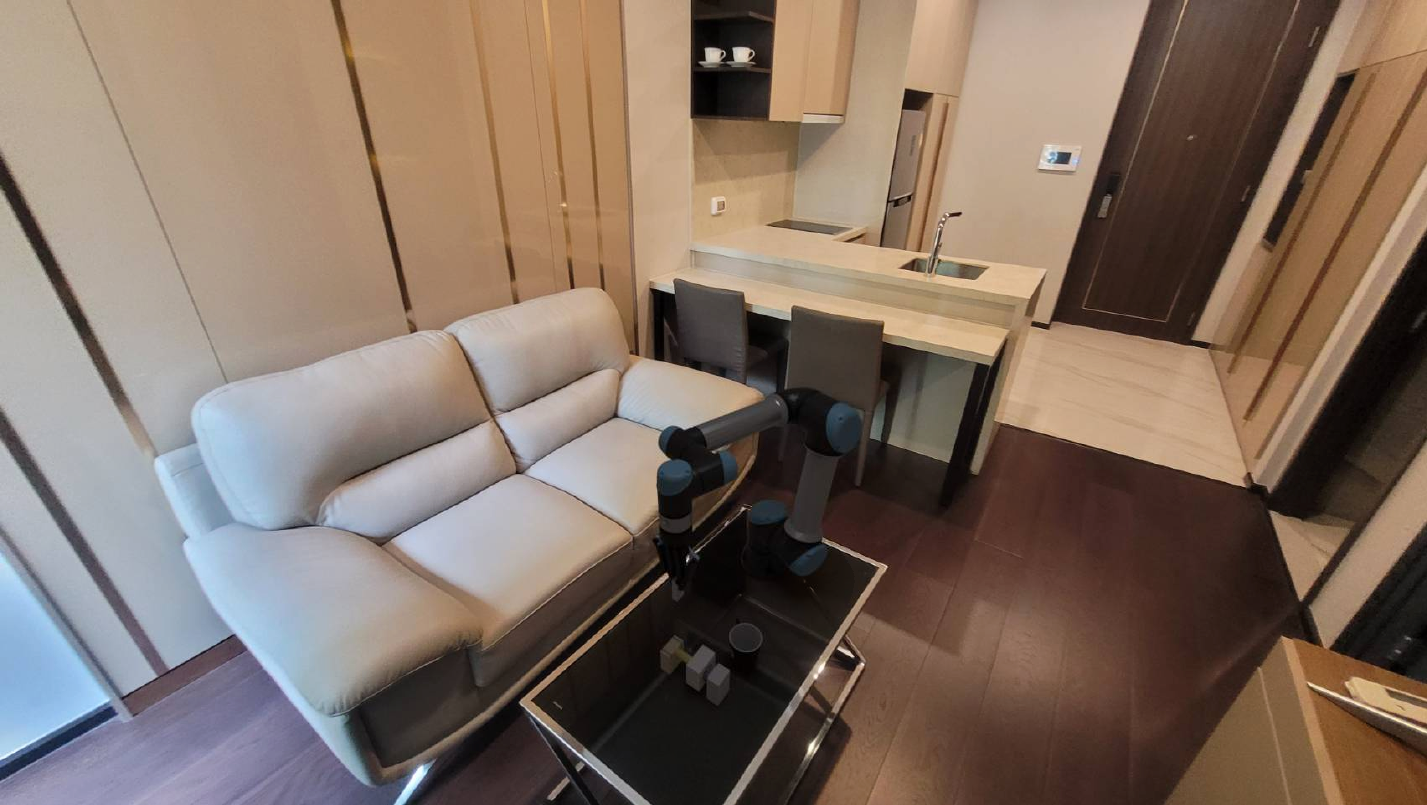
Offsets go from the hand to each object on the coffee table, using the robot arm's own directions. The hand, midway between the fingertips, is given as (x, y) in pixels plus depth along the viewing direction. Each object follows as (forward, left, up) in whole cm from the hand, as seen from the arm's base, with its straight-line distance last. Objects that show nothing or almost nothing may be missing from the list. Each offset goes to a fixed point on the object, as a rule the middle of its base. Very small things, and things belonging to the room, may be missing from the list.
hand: (678, 596), depth 129 cm
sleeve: (+2, +8, -22) cm, 24 cm away
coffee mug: (-11, +14, -25) cm, 30 cm away
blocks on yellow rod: (+2, +7, -25) cm, 25 cm away
